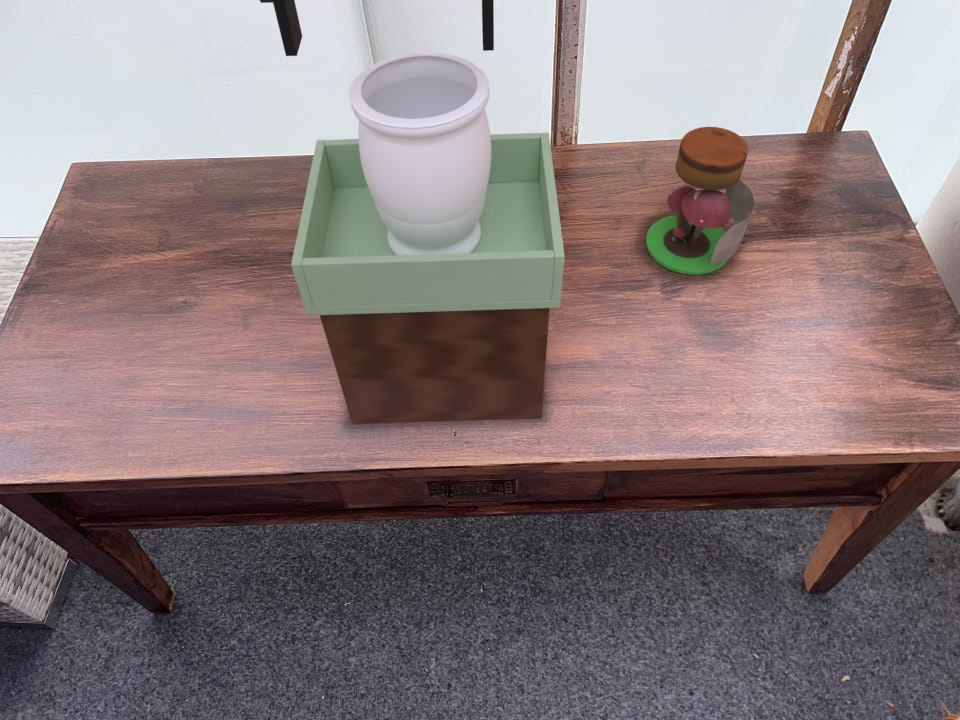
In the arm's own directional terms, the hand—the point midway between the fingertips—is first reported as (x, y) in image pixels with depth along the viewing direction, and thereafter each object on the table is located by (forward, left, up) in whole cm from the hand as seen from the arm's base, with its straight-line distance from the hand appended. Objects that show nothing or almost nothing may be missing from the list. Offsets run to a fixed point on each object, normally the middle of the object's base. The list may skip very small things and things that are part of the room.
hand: (391, 44), depth 51 cm
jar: (+1, -1, -19) cm, 19 cm away
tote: (+1, -1, -20) cm, 20 cm away
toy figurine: (+29, -23, -38) cm, 53 cm away
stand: (+1, -1, -38) cm, 38 cm away
